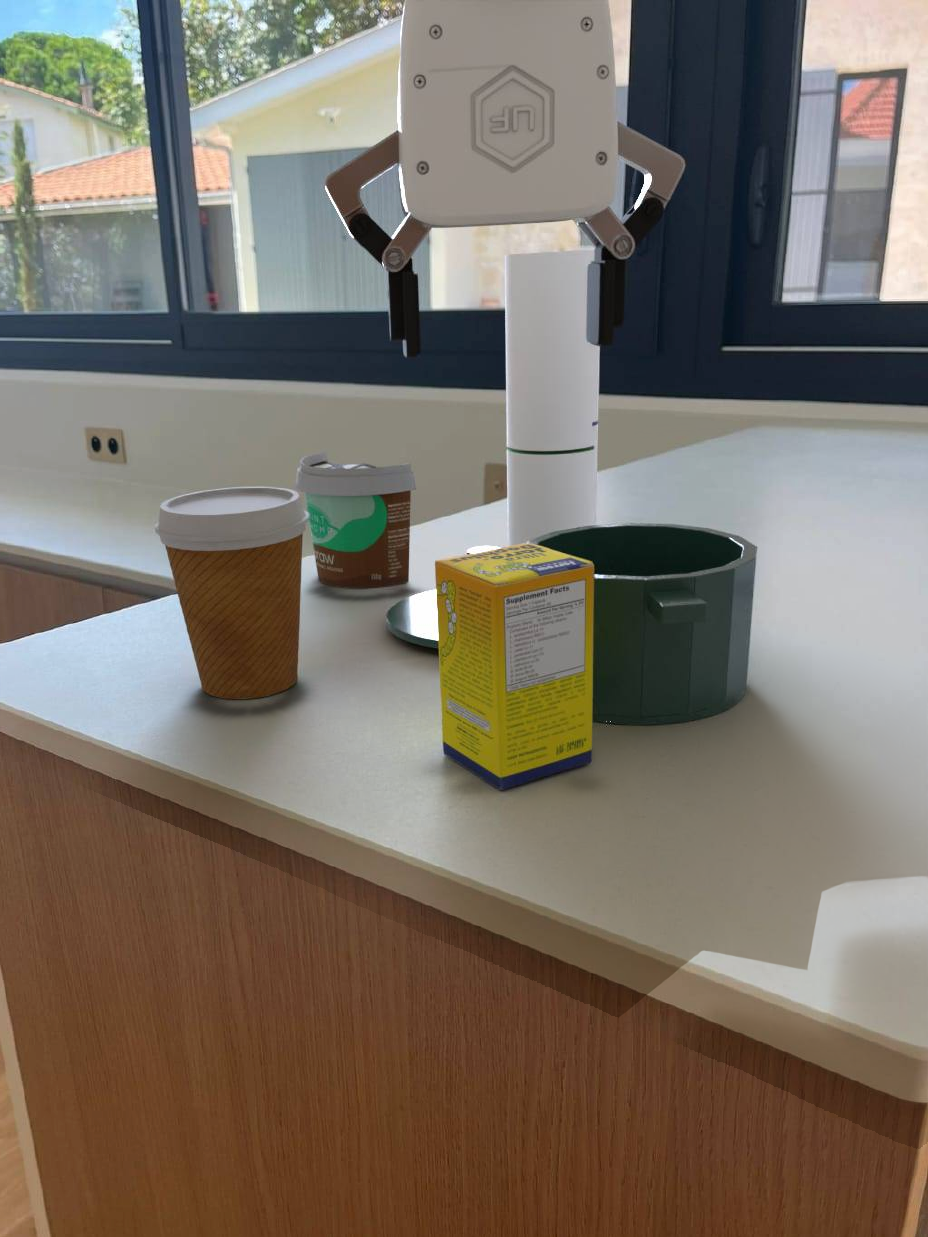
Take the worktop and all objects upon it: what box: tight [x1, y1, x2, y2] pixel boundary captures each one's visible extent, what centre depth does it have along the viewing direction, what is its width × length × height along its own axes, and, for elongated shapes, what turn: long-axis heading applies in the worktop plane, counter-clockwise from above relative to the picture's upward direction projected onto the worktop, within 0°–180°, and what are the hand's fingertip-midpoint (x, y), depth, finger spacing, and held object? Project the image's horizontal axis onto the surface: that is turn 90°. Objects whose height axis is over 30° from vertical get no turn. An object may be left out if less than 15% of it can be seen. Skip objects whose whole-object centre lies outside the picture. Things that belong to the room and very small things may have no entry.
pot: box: [527, 522, 758, 726], centre depth 67 cm, size 14×19×8 cm
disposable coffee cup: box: [154, 486, 309, 700], centre depth 70 cm, size 10×10×12 cm
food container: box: [295, 450, 417, 589], centre depth 93 cm, size 12×6×10 cm, turn 40°
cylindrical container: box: [504, 249, 601, 547], centre depth 87 cm, size 7×7×25 cm
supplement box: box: [434, 543, 594, 791], centre depth 57 cm, size 6×6×11 cm
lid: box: [385, 545, 501, 650], centre depth 80 cm, size 15×15×6 cm
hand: (505, 350), depth 57 cm, fingers open, 9 cm apart
